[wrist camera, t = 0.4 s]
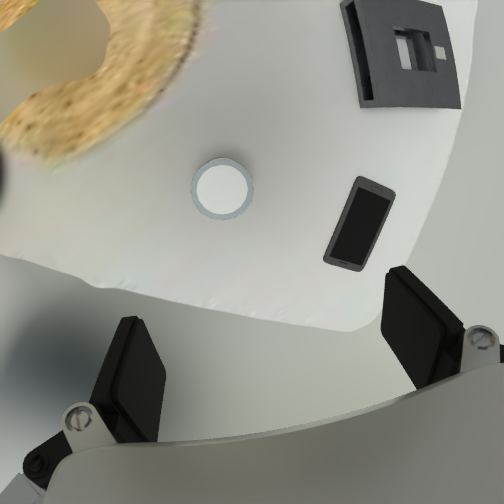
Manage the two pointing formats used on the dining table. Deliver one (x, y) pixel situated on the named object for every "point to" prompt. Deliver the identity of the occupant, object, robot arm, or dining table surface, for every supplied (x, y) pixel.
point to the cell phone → (359, 224)
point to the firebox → (387, 55)
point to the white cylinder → (222, 189)
